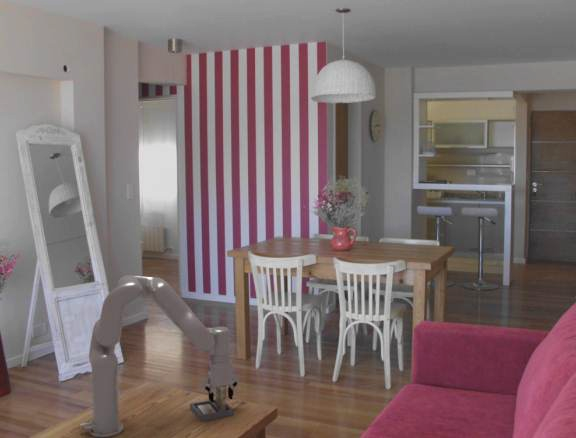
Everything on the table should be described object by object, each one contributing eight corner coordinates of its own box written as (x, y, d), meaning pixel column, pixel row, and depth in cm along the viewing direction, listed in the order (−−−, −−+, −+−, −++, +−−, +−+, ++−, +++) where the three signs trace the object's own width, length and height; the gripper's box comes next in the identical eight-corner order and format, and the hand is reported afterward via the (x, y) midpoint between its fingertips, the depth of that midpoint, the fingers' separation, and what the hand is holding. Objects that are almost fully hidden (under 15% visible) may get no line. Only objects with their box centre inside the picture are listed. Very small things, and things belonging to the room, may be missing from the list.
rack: (200, 423, 257) (200, 416, 256) (190, 410, 269) (190, 403, 269) (233, 417, 262) (233, 410, 262) (221, 405, 275) (221, 398, 275)
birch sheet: (221, 415, 264) (221, 387, 263) (216, 409, 270) (215, 381, 269) (226, 415, 265) (226, 386, 264) (220, 408, 271) (220, 380, 270)
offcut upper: (204, 418, 259) (204, 414, 259) (197, 409, 268) (197, 405, 268) (216, 416, 261) (216, 412, 261) (209, 407, 270) (209, 403, 270)
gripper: (202, 363, 258) (203, 406, 260) (244, 357, 265) (244, 399, 267) (197, 357, 265) (197, 400, 267) (237, 352, 272) (237, 393, 274)
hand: (221, 399), depth 267 cm, fingers open, 7 cm apart
